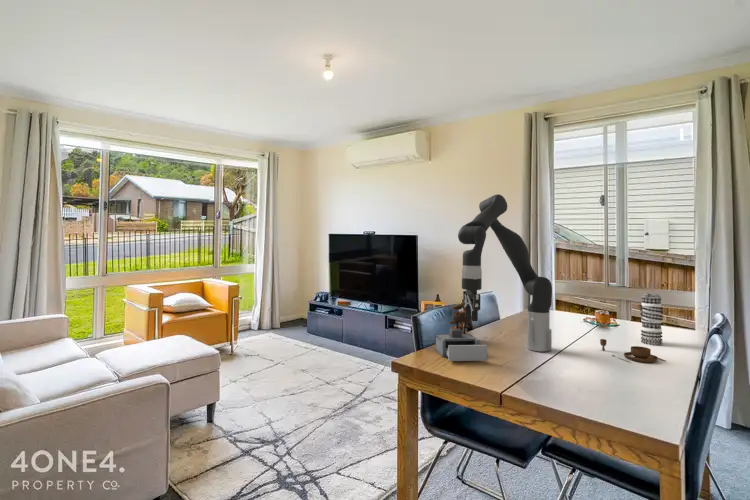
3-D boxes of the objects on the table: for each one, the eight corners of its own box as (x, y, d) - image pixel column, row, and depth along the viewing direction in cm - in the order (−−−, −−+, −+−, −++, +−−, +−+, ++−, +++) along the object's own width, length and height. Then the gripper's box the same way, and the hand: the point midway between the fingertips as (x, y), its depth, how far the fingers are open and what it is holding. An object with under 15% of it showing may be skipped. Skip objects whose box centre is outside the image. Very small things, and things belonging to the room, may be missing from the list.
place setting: (633, 364, 156) (633, 349, 156) (597, 352, 176) (597, 339, 176) (670, 362, 159) (670, 348, 159) (630, 350, 179) (630, 337, 179)
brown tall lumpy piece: (458, 346, 182) (458, 304, 183) (441, 342, 191) (441, 302, 192) (479, 342, 191) (479, 302, 192) (462, 338, 200) (462, 299, 200)
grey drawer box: (469, 349, 178) (469, 327, 178) (479, 356, 165) (479, 333, 165) (435, 349, 176) (435, 327, 176) (442, 357, 163) (442, 333, 164)
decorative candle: (642, 346, 183) (642, 294, 184) (637, 342, 192) (637, 292, 192) (666, 348, 180) (665, 295, 180) (659, 344, 189) (659, 293, 189)
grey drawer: (476, 352, 168) (476, 338, 168) (486, 360, 155) (486, 345, 156) (441, 352, 167) (441, 339, 167) (448, 361, 154) (448, 345, 154)
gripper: (457, 276, 158) (456, 316, 158) (467, 278, 144) (467, 322, 143) (474, 276, 158) (474, 316, 158) (487, 278, 144) (487, 322, 144)
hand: (471, 319), depth 151 cm, fingers open, 7 cm apart
